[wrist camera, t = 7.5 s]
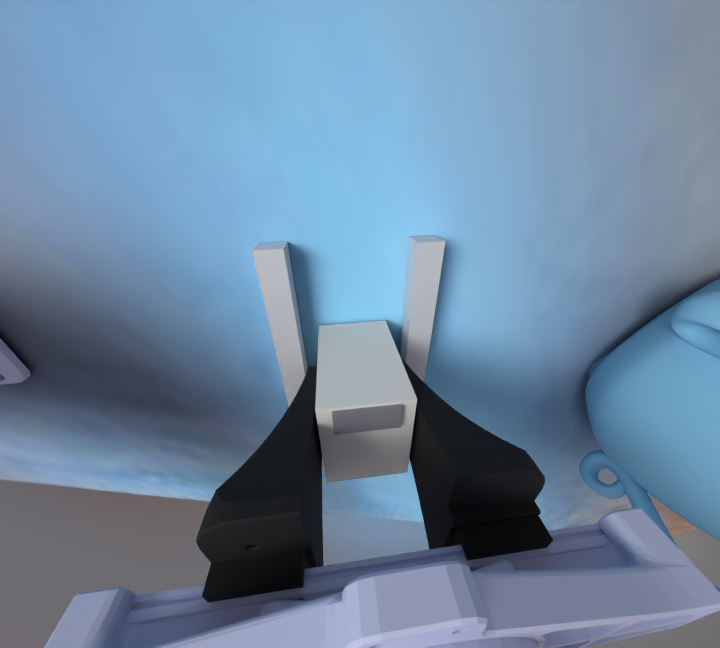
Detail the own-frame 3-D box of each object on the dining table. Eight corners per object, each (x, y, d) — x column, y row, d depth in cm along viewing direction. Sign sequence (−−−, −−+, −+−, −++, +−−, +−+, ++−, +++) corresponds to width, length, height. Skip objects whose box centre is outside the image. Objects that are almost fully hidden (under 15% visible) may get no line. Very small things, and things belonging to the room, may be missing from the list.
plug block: (326, 388, 16) (326, 487, 11) (319, 325, 13) (314, 414, 8) (383, 383, 16) (408, 476, 11) (385, 320, 14) (418, 403, 9)
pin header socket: (298, 425, 17) (290, 499, 13) (258, 243, 11) (222, 281, 7) (412, 413, 18) (435, 480, 14) (435, 235, 12) (488, 266, 8)
